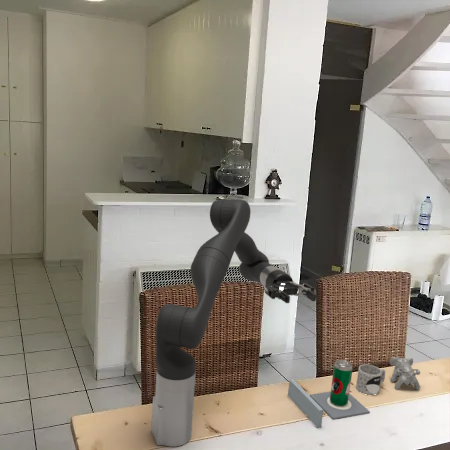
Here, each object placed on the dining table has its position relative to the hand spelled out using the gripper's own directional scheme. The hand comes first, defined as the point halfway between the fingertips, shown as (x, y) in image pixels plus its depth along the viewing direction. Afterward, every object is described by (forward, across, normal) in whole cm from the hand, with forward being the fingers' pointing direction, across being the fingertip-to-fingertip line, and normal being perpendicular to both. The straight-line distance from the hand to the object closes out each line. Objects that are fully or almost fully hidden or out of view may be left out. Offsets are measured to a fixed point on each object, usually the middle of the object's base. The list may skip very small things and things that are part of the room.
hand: (301, 299), depth 143 cm
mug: (+6, +24, +28) cm, 38 cm away
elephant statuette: (+5, +36, +28) cm, 46 cm away
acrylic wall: (+11, -2, +28) cm, 30 cm away
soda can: (+11, +9, +28) cm, 31 cm away
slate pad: (+11, +9, +28) cm, 31 cm away
